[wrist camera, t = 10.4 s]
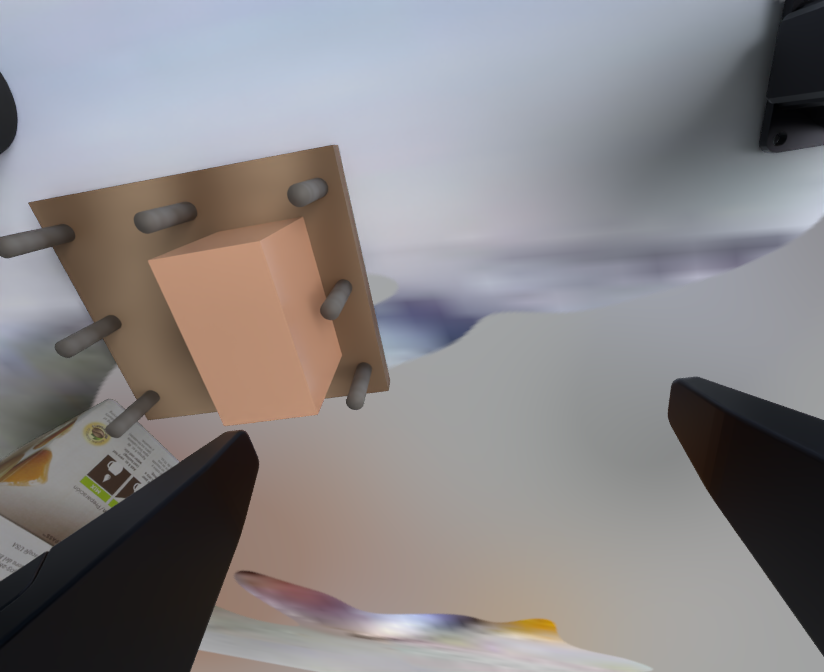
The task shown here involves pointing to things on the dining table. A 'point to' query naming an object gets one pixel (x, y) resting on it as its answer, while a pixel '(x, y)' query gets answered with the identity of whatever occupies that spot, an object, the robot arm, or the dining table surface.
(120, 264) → the brown peg board
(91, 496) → the coffee box
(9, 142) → the drinking cup
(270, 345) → the peach rectangular block
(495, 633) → the dining table surface
